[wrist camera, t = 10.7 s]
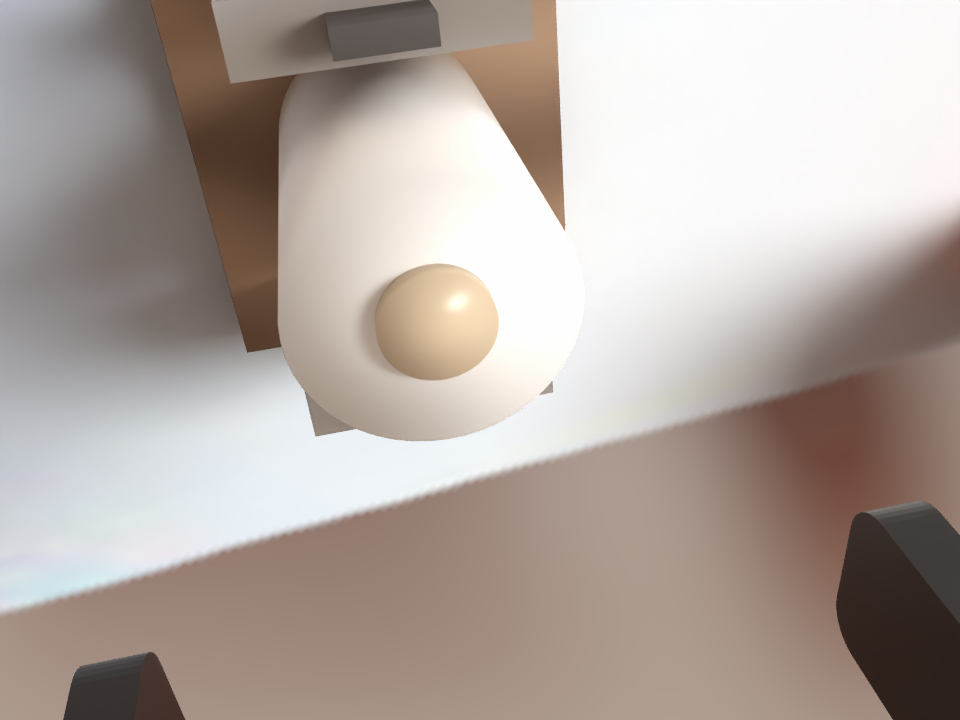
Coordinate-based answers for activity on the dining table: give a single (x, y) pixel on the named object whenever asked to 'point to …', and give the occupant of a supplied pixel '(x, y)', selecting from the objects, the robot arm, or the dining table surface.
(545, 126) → the holder
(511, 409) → the roll
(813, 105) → the dining table surface
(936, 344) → the dining table surface
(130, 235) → the dining table surface
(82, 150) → the dining table surface
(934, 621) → the robot arm
